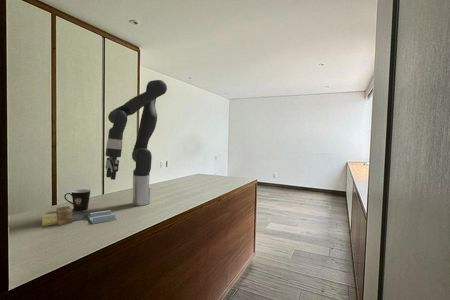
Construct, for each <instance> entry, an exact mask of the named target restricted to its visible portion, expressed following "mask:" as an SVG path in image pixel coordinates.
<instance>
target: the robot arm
mask: <svg viewBox="0 0 450 300" xmlns="http://www.w3.org/2000/svg"><path fill="white" fill-rule="evenodd" d="M167 90H168V86H167V83H166V82H165V81H164V80H160V79H155V80H150V81H148V82H147V84H146V87H145V91H144V92H142V93H140V94H137V95H136V96H133V97H132V98H130V99H129V100H128V101H126V102H125V103H124V104H123V105H120V106H118V107H116V108H115V109H113V110H111V111H110V112H109V113H108V116H107V118H108V121H109V123H111V124H112V127H110V128H109V130H108V135H107V141H106V147H105V157H107V158H106V163H105V169H106V174H105V177H106V178H110V180H113V181H114V180H116V176H117V172H118V173H119V164H120V159H118V158H121V157H122V150H123V137H124V131H125V130H126V126H127V123H128V116H132V115H135V114H136V113H137V112H138V111H140V110H141V109H142V113H141V116H140V121H139V127H138V130H137V131H138V132H137V136H136V140H135V143H134V147H133V149H132V152H131V158H132V160H133V162H135V168H134V169H133V171H132V200H131V204H132V205H134V206H146V205H149V204H150V203H151V187H150V173H151V170H152V160H153V156H152V152H151V150H149V149H148V146H149V142H150V139H151V137H152V135H153V133H154V132H155V130H156V127H157V122H158V113H157V109H156V102H157V98H159V97H161V96H163V95H165V94H166V92H167Z"/></svg>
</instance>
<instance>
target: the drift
mask: <svg viewBox="0 0 450 300" xmlns="http://www.w3.org/2000/svg"><path fill="white" fill-rule="evenodd" d="M88 217H89V212H88V210H85V211H77V212H72V222H75V221H76V222H77V221H81V220H89V219H88Z"/></svg>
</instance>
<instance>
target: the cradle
mask: <svg viewBox="0 0 450 300" xmlns="http://www.w3.org/2000/svg"><path fill="white" fill-rule="evenodd" d="M87 220H89V222H90V223H91V224H92V225H94V224H99V223H104V222H111V221H117V217H116V213H112V210H109V209H107V210H104V211H103V210H102V211H95V212H89V215H88V219H87Z"/></svg>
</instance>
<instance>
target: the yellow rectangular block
mask: <svg viewBox="0 0 450 300" xmlns="http://www.w3.org/2000/svg"><path fill="white" fill-rule="evenodd" d="M41 224H42V227H48V226H51V225H52V226H53V225H58V213H56V212H54V213H45V214H42V215H41Z"/></svg>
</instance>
